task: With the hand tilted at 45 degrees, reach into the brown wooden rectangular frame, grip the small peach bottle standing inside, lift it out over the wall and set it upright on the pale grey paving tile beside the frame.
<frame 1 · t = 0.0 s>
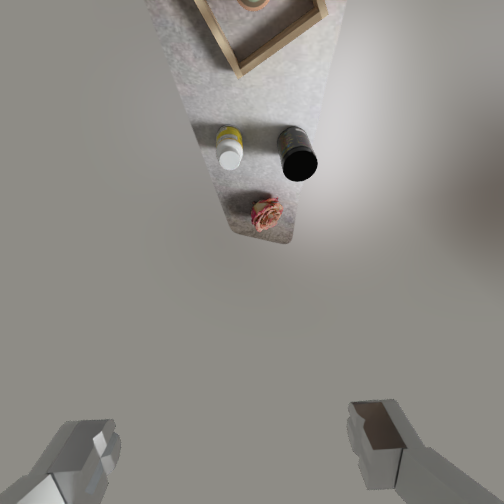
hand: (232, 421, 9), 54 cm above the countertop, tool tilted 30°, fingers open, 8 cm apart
flower: (265, 202, 71), on the countertop
supplement bottle: (229, 136, 57), on the countertop
supplement container: (291, 140, 58), on the countertop
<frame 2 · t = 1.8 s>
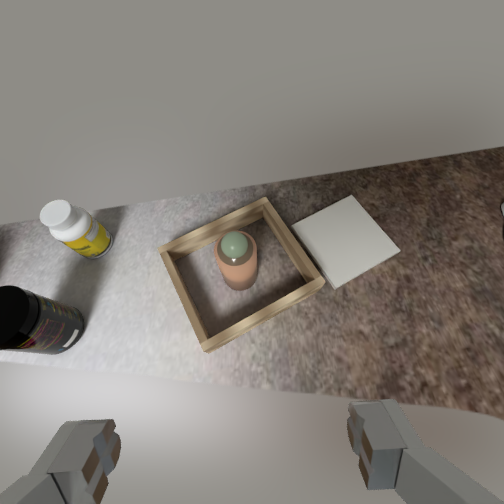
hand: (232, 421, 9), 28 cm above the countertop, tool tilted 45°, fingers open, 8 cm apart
paving tile: (343, 240, 43), on the countertop
peach bottle: (237, 259, 35), in the brown wooden rectangular frame
brown wooden rectangular frame: (240, 274, 41), on the countertop
supplement bottle: (97, 245, 44), on the countertop
supplement container: (63, 330, 38), on the countertop
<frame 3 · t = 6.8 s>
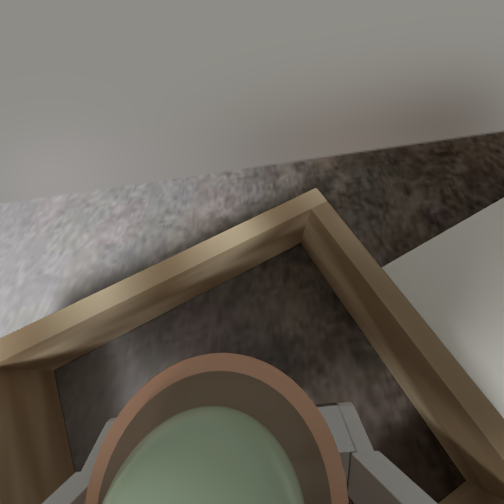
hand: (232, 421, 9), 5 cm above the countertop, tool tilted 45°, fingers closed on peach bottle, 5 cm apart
peach bottle: (230, 451, 8), in the brown wooden rectangular frame, touching gripper
brown wooden rectangular frame: (241, 420, 13), on the countertop
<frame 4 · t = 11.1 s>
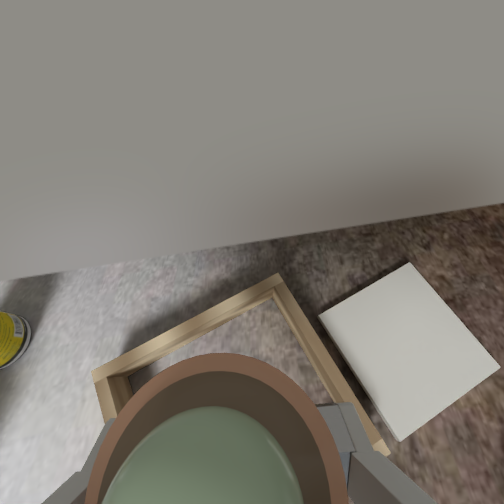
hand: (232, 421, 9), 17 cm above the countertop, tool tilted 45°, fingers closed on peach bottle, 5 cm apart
paving tile: (401, 341, 26), on the countertop
peach bottle: (230, 451, 8), point 18 cm above the countertop, touching gripper
brown wooden rectangular frame: (235, 404, 24), on the countertop
supplement bottle: (7, 342, 27), on the countertop
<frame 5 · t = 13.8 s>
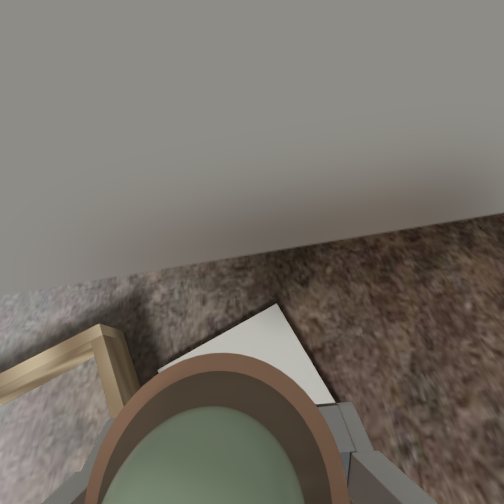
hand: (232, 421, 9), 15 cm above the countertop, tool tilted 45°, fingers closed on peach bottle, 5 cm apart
paving tile: (251, 400, 23), on the countertop
peach bottle: (230, 451, 8), point 16 cm above the countertop, touching gripper
brown wooden rectangular frame: (41, 481, 21), on the countertop
when the fingers open (7 cm above the countertop, at t = 15.9 s): peach bottle drops 1 cm, resting on paving tile.
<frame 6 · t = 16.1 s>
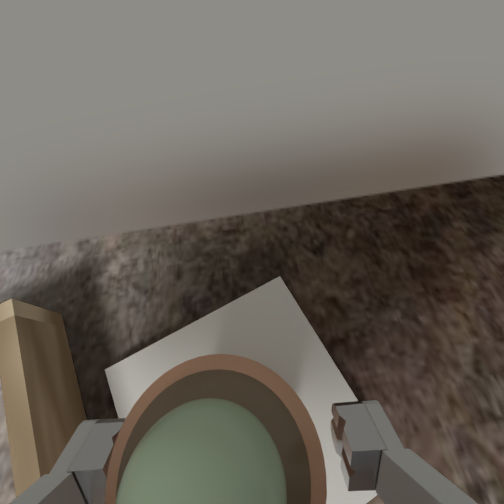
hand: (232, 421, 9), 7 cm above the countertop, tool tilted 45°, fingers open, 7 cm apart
paving tile: (243, 415, 15), on the countertop
peach bottle: (230, 441, 9), on the paving tile, point 7 cm above the countertop
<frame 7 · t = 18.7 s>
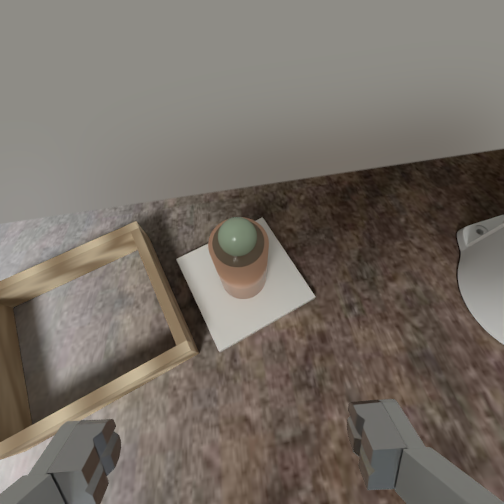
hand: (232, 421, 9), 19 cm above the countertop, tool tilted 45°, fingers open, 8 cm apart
paving tile: (243, 279, 32), on the countertop
peach bottle: (240, 257, 26), on the paving tile, point 7 cm above the countertop
brown wooden rectangular frame: (96, 327, 30), on the countertop
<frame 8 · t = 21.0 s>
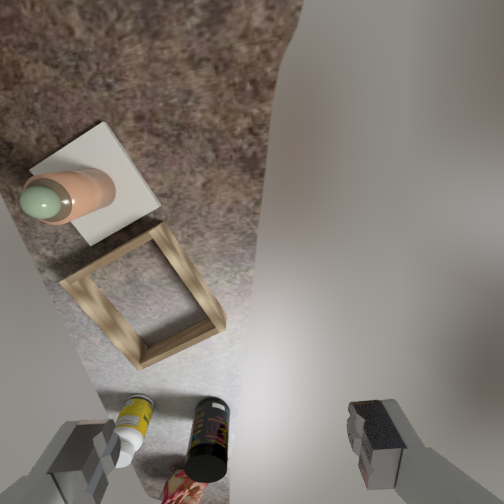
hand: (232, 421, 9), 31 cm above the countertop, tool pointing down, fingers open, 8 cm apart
paving tile: (99, 188, 36), on the countertop
peach bottle: (68, 195, 30), on the paving tile, point 7 cm above the countertop
flower: (190, 466, 57), on the countertop
brown wooden rectangular frame: (154, 293, 42), on the countertop
supplement bottle: (141, 402, 50), on the countertop
supplement container: (213, 408, 51), on the countertop
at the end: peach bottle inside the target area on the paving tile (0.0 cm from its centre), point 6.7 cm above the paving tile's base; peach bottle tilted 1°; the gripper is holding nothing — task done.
